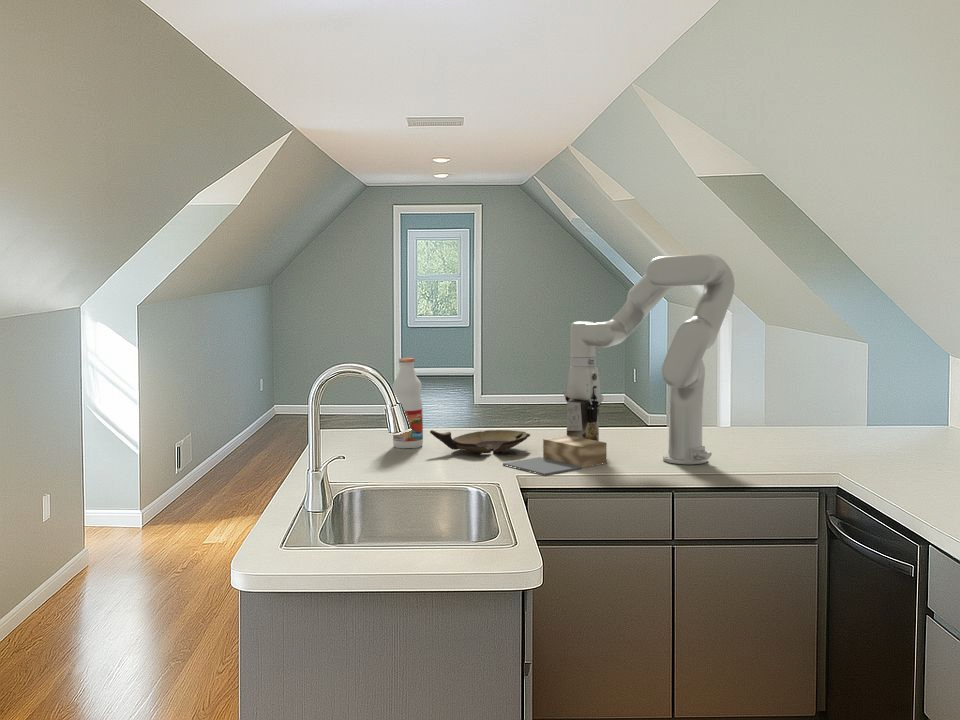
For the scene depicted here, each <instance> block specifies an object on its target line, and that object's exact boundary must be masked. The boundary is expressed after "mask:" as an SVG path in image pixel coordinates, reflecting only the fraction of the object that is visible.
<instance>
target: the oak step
mask: <svg viewBox="0 0 960 720" xmlns="http://www.w3.org/2000/svg"><path fill="white" fill-rule="evenodd" d="M542 440H543V441H542V442H543V445H542V446H543V447H542V448H543V449H542V451H543V457H542V458H546V459H550V460H555V461H559V462H564V463H568V464H573V465H577V466H581V467H582V469H583V467H584V468H588V466H589V467H593V466H592V465H595V466H598V465H597V464H600V465H603V464H602V463H606V464H607V445H608V444H607V442H604V441H595V440H590V439H585V438H579V437H574V436H569V435H567V434H566V435H563V436H561V435H560V436H556V437H555V436H554V437H548V438H543V439H542Z"/></svg>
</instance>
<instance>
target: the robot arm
mask: <svg viewBox="0 0 960 720" xmlns="http://www.w3.org/2000/svg"><path fill="white" fill-rule="evenodd" d="M687 286H703V290H702V293H701V294H700V296H699V298H698V301H697V303H696V306H695V308H694V310H693V313H692V315H691V317H690V318H689V319H687V320H685V321H684V322H682V323H681V324H680V325H679V327H678V328H677V330H676V331H675V333H674V336H673V338H672V341H671V343H670V346H669V348H668V351H667V353H666V355H665V357H664V360H663V362H662V366H661V376H662V379H663V381H664V382H665V384H666V385H667V386H669V393H668V394H669V395H668V396H669V397H668V453H665V454H664V455H663V456H662V460H663V461H664V462H666V463H668V464H669V463H670V464H677V465H700V464H705V463H707V462H708V460H710V458H711V456H712V455H713V454H712V452H710V451H706V446H705V445H703V416H704V415H703V414H704V413H703V411H704V410H703V409H704V408H703V407H704V404H703V403H704V386H705V380H706V379H705V376H706V368H705V364H704V361H703V358H704V356H705V354H706V350H708V349H710V348H712V347H713V346H714V344H715V342H716V340H717V338H718V335H719V332H720V330H721V327H722V325H723V322H724V321H725V320H724V319H725V317H726V314H727V312H728V309H729V307H730V304H731V302H732V300H733V296H734V291H735V277H734V273H733V271H732V268H730V266H729V265H728V263H727V262H726V261H725V260H724V259H723V258H722V257H720V256H718V255H716V254H712V253H709V254H708V253H699V254H698V253H697V254H687V255H686V254H685V255H683V254H682V255H670V256H669V255H668V256H667V255H666V256H664V255H660V256H657V257H655V258H652V259H651V260H650V261H649V262H648V263H647V266H646V269H645V274H643V276H642V277H641V278H640V279H639V280H637V282H636V283H635V284H634V285H633V286H632V287H630V288H629V291H628V293H627V298H626V301H625V303H624V305H622V307H621V308H620V309H619V310H618V311H617V312H616V314H614V315H613V317H612V318H611V319H610V320H606V321H602V322H595V323H594V322H593V321H574V322H572V323H571V325H570V366H569V369H568V374H567V375H568V376H567V388H565V389H564V390H563V393H562V394H563V396H564V398H565V401H566V402H567V401H572V400H582V401H587V402H588V406H589V408H590V409H589V410H588V422H589V423H593V422H597V409H598V408H599V409H600V406H602V405H601V404H602V402H603V400H604V397H605V396H604V395H603V394H602V393H601V382H600V381H601V380H600V374H599V369H598V367H596V366H597V362H598V361H597V360H596V357H597V355H596V353H597V352H596V350H597V349H596V347H597V348H610V347H613V346H616V345H620V344H622V342H624V341H625V340H626V339H627V338H628V337H629V336H630V335H631V334H632V333H633V332H634V331H635V330H636V329H637V328H638V327H639V326H640V325H641V323H643V321H644V320H645V318H646V317H647V316H648V315H649V313H650V312H651V311H652V310H653V308H655V307H656V305H658V304H659V302H660V301H661V300H662V299H663V298H665V296H666V295H667V294H668V293H670V292H671V290H672V289H674V287H687ZM592 402H593V405H592Z"/></svg>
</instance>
